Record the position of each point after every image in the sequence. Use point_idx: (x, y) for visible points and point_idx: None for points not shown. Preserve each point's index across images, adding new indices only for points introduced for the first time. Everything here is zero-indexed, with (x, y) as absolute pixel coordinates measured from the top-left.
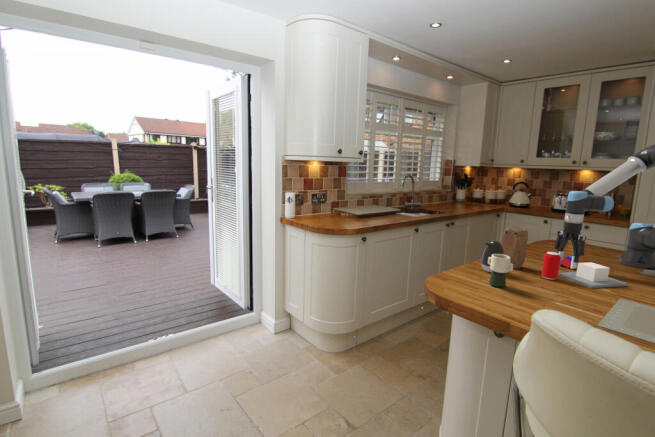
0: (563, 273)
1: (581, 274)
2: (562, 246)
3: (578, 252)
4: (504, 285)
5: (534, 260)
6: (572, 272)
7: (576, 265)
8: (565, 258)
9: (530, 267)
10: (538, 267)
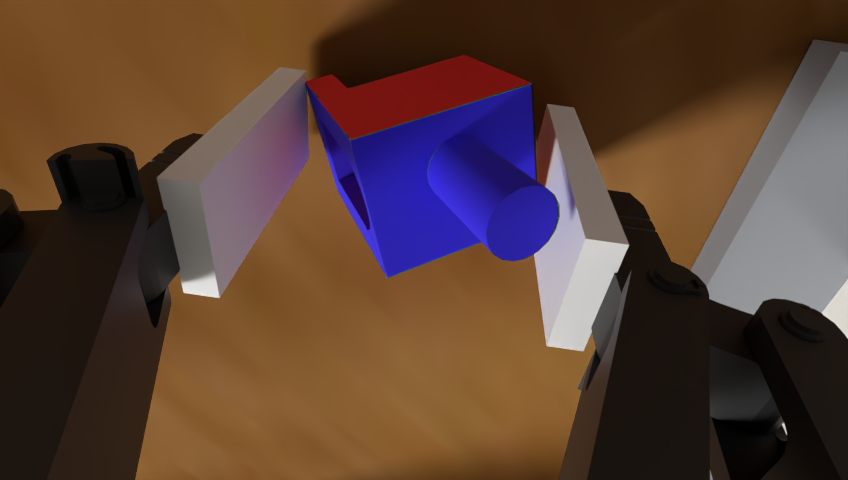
0: None
1: None
2: (140, 398)
3: (729, 474)
4: None
5: None
6: None
7: (581, 130)
8: (408, 261)
9: (344, 465)
10: (355, 416)
